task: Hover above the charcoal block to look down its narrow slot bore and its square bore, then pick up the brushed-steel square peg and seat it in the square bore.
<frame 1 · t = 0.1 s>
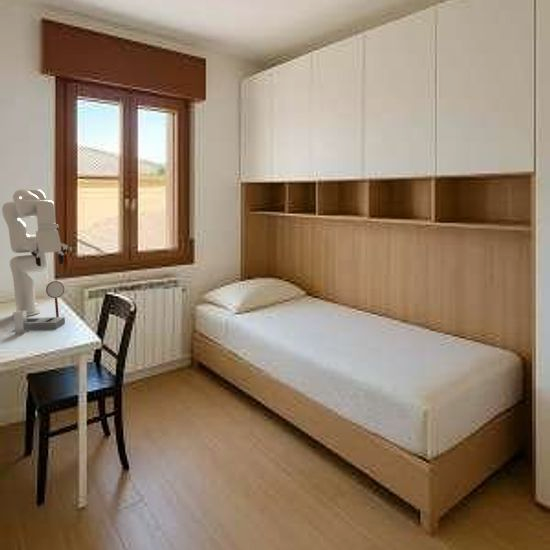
hand: (50, 264, 224), 31 cm above the table, tool pointing down, fingers open, 9 cm apart
magnifying glass: (57, 319, 249), on the table
bore block: (40, 326, 236), on the table
square peg: (21, 332, 225), on the table
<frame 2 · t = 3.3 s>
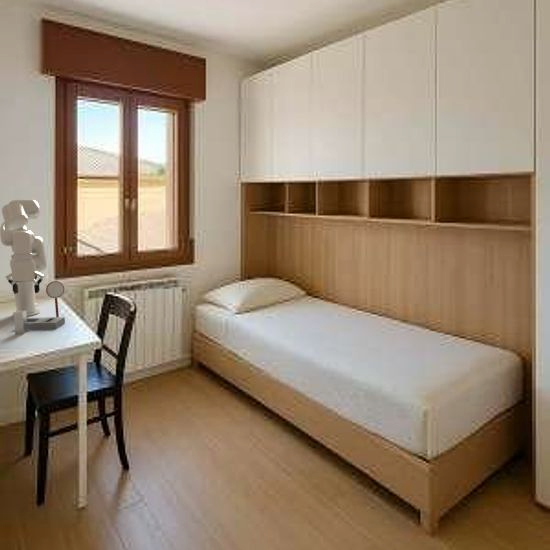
hand: (26, 293, 231), 17 cm above the table, tool pointing down, fingers open, 9 cm apart
nothing on the table moved.
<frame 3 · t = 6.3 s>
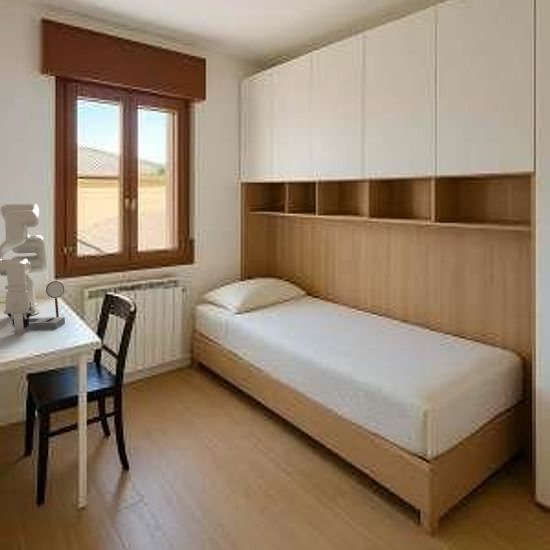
hand: (21, 326, 224), 3 cm above the table, tool pointing down, fingers closed on square peg, 4 cm apart
square peg: (21, 332, 225), on the table, touching gripper
everything else where it was.
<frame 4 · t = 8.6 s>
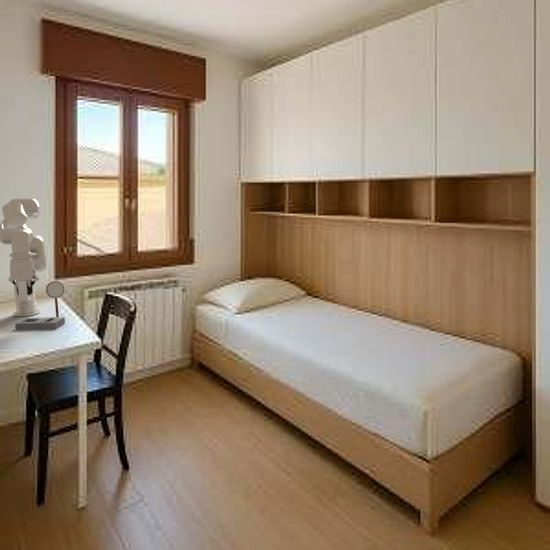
hand: (25, 294, 230), 17 cm above the table, tool pointing down, fingers closed on square peg, 4 cm apart
square peg: (25, 299, 230), point 14 cm above the table, touching gripper
everything else where it was.
when the fingers open (4 cm above the table, at t = 11.1 s): square peg drops 1 cm, resting in bore block.
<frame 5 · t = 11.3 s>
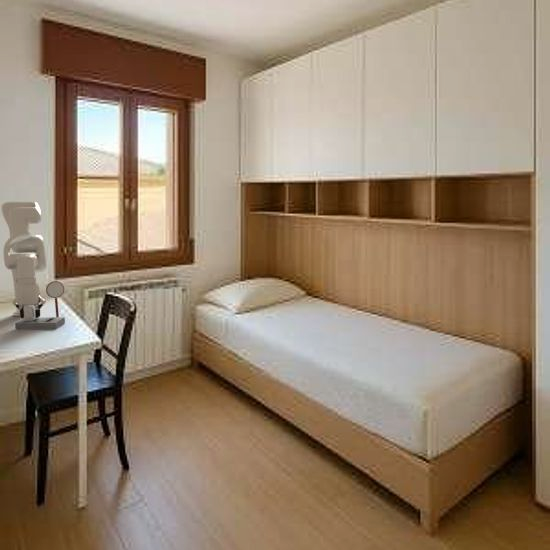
hand: (30, 317, 235), 5 cm above the table, tool pointing down, fingers open, 6 cm apart
square peg: (31, 326, 236), resting in bore block
everything else where it was.
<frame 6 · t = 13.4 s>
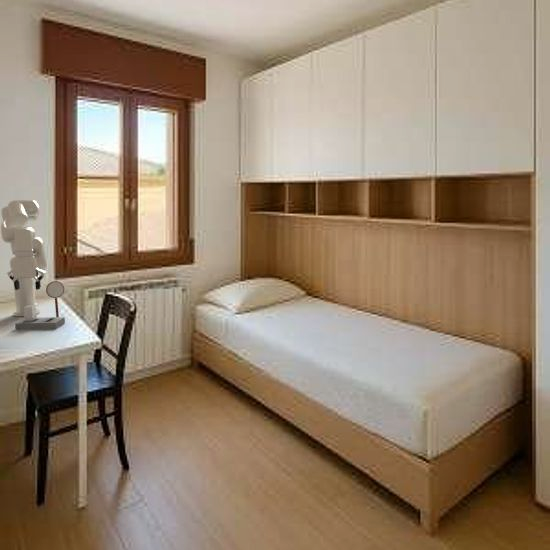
hand: (27, 289, 233), 18 cm above the table, tool pointing down, fingers open, 9 cm apart
nothing on the table moved.
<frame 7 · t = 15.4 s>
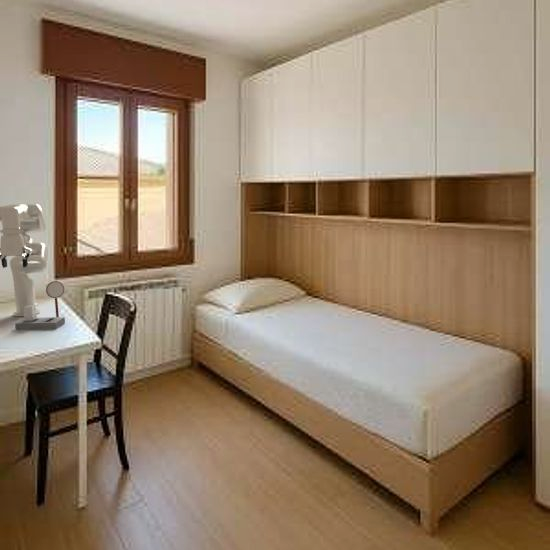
hand: (15, 267, 238), 28 cm above the table, tool pointing down, fingers open, 9 cm apart
nothing on the table moved.
at the end: square peg 0.0 cm from the target spot on the bore block, point 0.0 cm above the bore block's base; square peg tilted 0°; the gripper is holding nothing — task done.
